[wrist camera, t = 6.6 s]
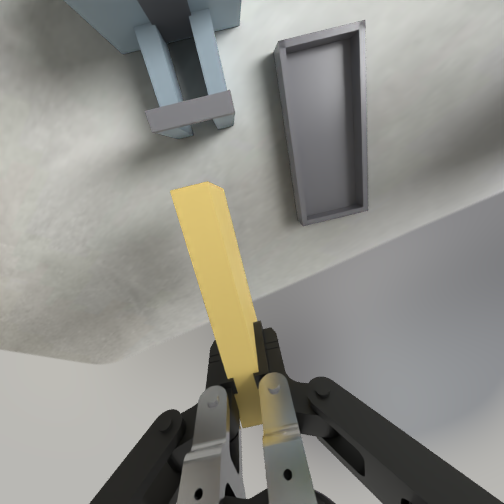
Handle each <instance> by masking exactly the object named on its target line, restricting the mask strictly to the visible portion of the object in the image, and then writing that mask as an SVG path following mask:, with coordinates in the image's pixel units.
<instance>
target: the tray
mask: <svg viewBox="0 0 504 504" xmlns="http://www.w3.org/2000/svg"><path fill="white" fill-rule="evenodd" d="M274 58H275V65H276V72H277V79H278V86H279V93H280V100H281V107H282V114H283V120H284V127H285V134H286V141H287V148H288V155H289V162H290V169H291V176H292V183H293V190H294V197H295V204H296V211H297V218H298V221H299V222H300V223H301V224H302V225H303V226H305V225H310V224H314V223H318V222H322V221H326V220H331V219H335V218H339V217H343V216H347V215H352V214H356V213H360V212H364V211H368V162H367V94H366V25H365V20H362V21H358V22H354V23H350V24H346V25H342V26H338V27H334V28H330V29H326V30H322V31H318V32H314V33H310V34H305V35H301V36H297V37H293V38H289V39H285V40H281V41H278V43H277V45H276V47H275V50H274Z"/></svg>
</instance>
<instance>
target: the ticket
mask: <svg viewBox="0 0 504 504" xmlns="http://www.w3.org/2000/svg"><path fill="white" fill-rule="evenodd" d="M170 193H171V196H172V199H173V203H174V206H175V209H176V212H177V216H178V219H179V222H180V225H181V229H182V232H183V235H184V238H185V242H186V245H187V248H188V251H189V255H190V258H191V261H192V264H193V268H194V271H195V274H196V277H197V281H198V284H199V287H200V291H201V294H202V297H203V300H204V304H205V307H206V310H207V313H208V317H209V320H210V323H211V326H212V329H213V333H214V336H215V339H216V343H217V346H218V349H219V352H220V356H221V359H222V362H223V365H224V369H225V372H226V375H227V378H228V379H229V378H234V382H235V385H236V388H237V392H238V394H234V396H235V399H236V402H237V405H238V409H239V416H240V421H241V424H242V427H243V428H246V427H251V426H256V425H260V424H263V422H262V413H261V404H260V395H259V389H257V386H256V383H255V379H254V376H253V373H256V372H259V370H258V361H257V353H256V344H255V336H254V327H253V322H256V321H257V319H256V315H255V311H254V307H253V303H252V299H251V295H250V291H249V287H248V283H247V279H246V275H245V271H244V268H243V264H242V260H241V256H240V252H239V248H238V244H237V240H236V236H235V232H234V228H233V224H232V220H231V217H230V213H229V209H228V205H227V201H226V197H225V193H224V189H223V188H220V187H218V186H216V185H214V184H212V183H210V182H208V181H207V182H203V183H199V184H195V185H191V186H187V187H183V188H179V189H175V190H171V191H170Z"/></svg>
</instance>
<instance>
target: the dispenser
mask: <svg viewBox="0 0 504 504" xmlns="http://www.w3.org/2000/svg"><path fill="white" fill-rule="evenodd" d="M64 1H65V2H66V3H67V4H68V5H69V6H70V7H71V8H72V9H74V10H75V11H76V12H77V13H78V14H79V15H80V16H81V17H82V18H83V19H84V20H86V21H87V22H88V23H89V24H90V25H91V26H92V27H93V28H94V29H95V30H97V31H98V32H99V33H100V34H101V35H102V36H103V37H104V38H105V39H106V40H108V41H109V42H110V43H111V44H112V45H113V46H114V47H115V48H116V49H117V50H118V51H120V52H121V53H122V54H126V53H130V52H134V51H138V50H141V52H142V55H143V58H144V61H145V64H146V67H147V70H148V73H149V76H150V79H151V82H152V85H153V88H154V91H155V94H156V97H157V100H158V103H159V106H160V107H158V108H154V109H150V110H146V111H145V114H146V117H147V119H148V122H149V125H150V128H151V131H152V132H153V133H157V134H161V135H165V136H168V137H172V138H176V139H181V138H185V137H189V136H193V132H192V128H191V125H192V124H196V123H200V122H204V121H208V120H212V119H213V121H214V123H215V125H216V126H217V128H218V129H222V128H226V127H230V126H233V125H234V116H235V110H234V106H233V101H232V96H231V92H230V90H228V91H227V88H226V83H225V79H224V74H223V70H222V65H221V61H220V56H219V51H218V47H217V42H216V38H215V33H214V32H215V31H219V30H223V29H227V28H231V27H235V26H239V25H240V11H241V0H64ZM191 37H194V40H195V44H196V48H197V52H198V56H199V60H200V64H201V68H202V72H203V76H204V80H205V84H206V88H207V92H208V95H207V96H203V97H199V98H195V99H191V100H187V101H183V97H182V94H181V90H180V87H179V83H178V80H177V76H176V73H175V70H174V66H173V63H172V59H171V56H170V52H169V49H168V45H167V43H170V42H174V41H178V40H183V39H187V38H191Z"/></svg>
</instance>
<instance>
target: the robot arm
mask: <svg viewBox="0 0 504 504" xmlns="http://www.w3.org/2000/svg"><path fill="white" fill-rule="evenodd" d="M253 327H254V336H255V344H256V353H257V361H258V370H259V372H256V373H253V376H254V379H255V383H256V386H257V389H259V395H260V404H261V413H262V422H263V431H264V436H263V450H264V460H265V469H266V479H267V489H265V490H264V491H262V492H260V493H259V494H257V495H255V496H254V497H252V498H250V499H246V497H245V489H244V484H243V478H242V477H243V476H242V446H241V427H240V416H239V409H238V405H237V402H236V399H235V396H234V394H238V392H237V388H236V385H235V382H234V378H229V379H228V378H227V375H226V372H225V369H224V365H223V362H222V359H221V356H220V352H219V349H218V346H217V343H216V340H215V341H214V342H213V344H212V346H211V348H210V358H209V365H208V374H207V382H206V390H205V391H204V392H203V393H202V395H201V396H200V398H199V401H198V403H197V404H196V405H195V406H193V407H192V408H190V409H188V410H186V411H185V412H183V413H181V414H180V412H179V411H177V410H174V409H172V410H168V411H165V412H164V413H162V414H161V415H160V416H159V417H158V418H157V419H156V420H155V421H154V423H153V424H152V425H151V426H150V428H149V429H148V430H147V432H146V433H145V434H144V435H143V437H142V438H141V439H140V440H139V442H138V443H137V444H136V445H135V447H134V448H133V449H132V450H131V452H130V453H129V454H128V455H127V457H126V458H125V459H124V461H123V462H122V463H121V464H120V466H119V467H118V468H117V470H116V471H115V472H114V473H113V474H112V476H111V477H110V479H109V480H108V481H107V482H106V483H105V485H104V486H103V487H102V488H101V490H100V491H99V492H98V494H97V495H96V496H95V497H94V499H93V500H92V501H91V502H90V504H176V503H177V504H335V503H334V502H333V501H332V500H330V499H329V498H328V497H326V496H325V495H324V494H322V493H320V492H318V491H316V490H314V488H313V484H312V479H311V475H310V471H309V467H308V463H307V459H306V455H305V451H304V447H303V442H302V438H301V434H306V435H312V436H316V437H317V438H318V439H319V441H320V442H321V443H322V444H323V445H324V446H325V447H326V448H327V449H328V450H329V451H331V452H332V454H333V455H334V456H336V458H337V459H339V461H340V462H341V463H342V464H343V465H344V466H346V468H348V470H350V471H351V472H352V474H354V475H355V476H356V477H357V478H358V479H359V480H360V481H361V482H362V483H363V484H364V485H365V486H366V487H367V488H368V489H369V490H370V491H371V492H372V493H373V494H374V495H375V496H376V497H377V498H378V499H379V500H380V501H381V502H382V503H383V504H504V503H503V502H501V501H500V500H498V499H497V498H496V497H494V496H493V495H491V494H490V493H489V492H487V491H486V490H484V489H483V488H482V487H480V486H479V485H478V484H476V483H475V482H473V481H472V480H471V479H469V478H468V477H466V476H465V475H464V474H462V473H461V472H459V471H458V470H456V469H455V468H454V467H452V466H451V465H450V464H448V463H447V462H445V461H444V460H443V459H441V458H440V457H438V456H437V455H436V454H434V453H433V452H431V451H430V450H429V449H427V448H426V447H425V446H423V445H422V444H420V443H419V442H418V441H416V440H415V439H413V438H412V437H410V436H409V435H408V434H406V433H405V432H404V431H402V430H401V429H399V428H398V427H397V426H395V425H394V424H392V423H391V422H390V421H388V420H387V419H385V418H384V417H383V416H381V415H380V414H378V413H377V412H376V411H374V410H373V409H371V408H370V407H368V406H367V405H366V404H364V403H363V402H362V401H360V400H359V399H358V398H356V397H355V396H353V395H352V394H351V393H349V392H348V391H346V390H345V389H343V388H342V387H341V386H339V385H338V384H336V383H335V382H334V381H332V380H331V379H329V378H326V377H316V378H314V379H312V380H311V381H310V382H309V383H300V382H296V381H293V380H292V379H290V378H289V377H288V375H287V374H286V372H285V369H284V364H283V360H282V356H281V352H280V348H279V343H278V339H277V335H276V333H275V331H274V330H273V329H272V328H267V329H263V328H262V324H261V321H256V322H253Z"/></svg>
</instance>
